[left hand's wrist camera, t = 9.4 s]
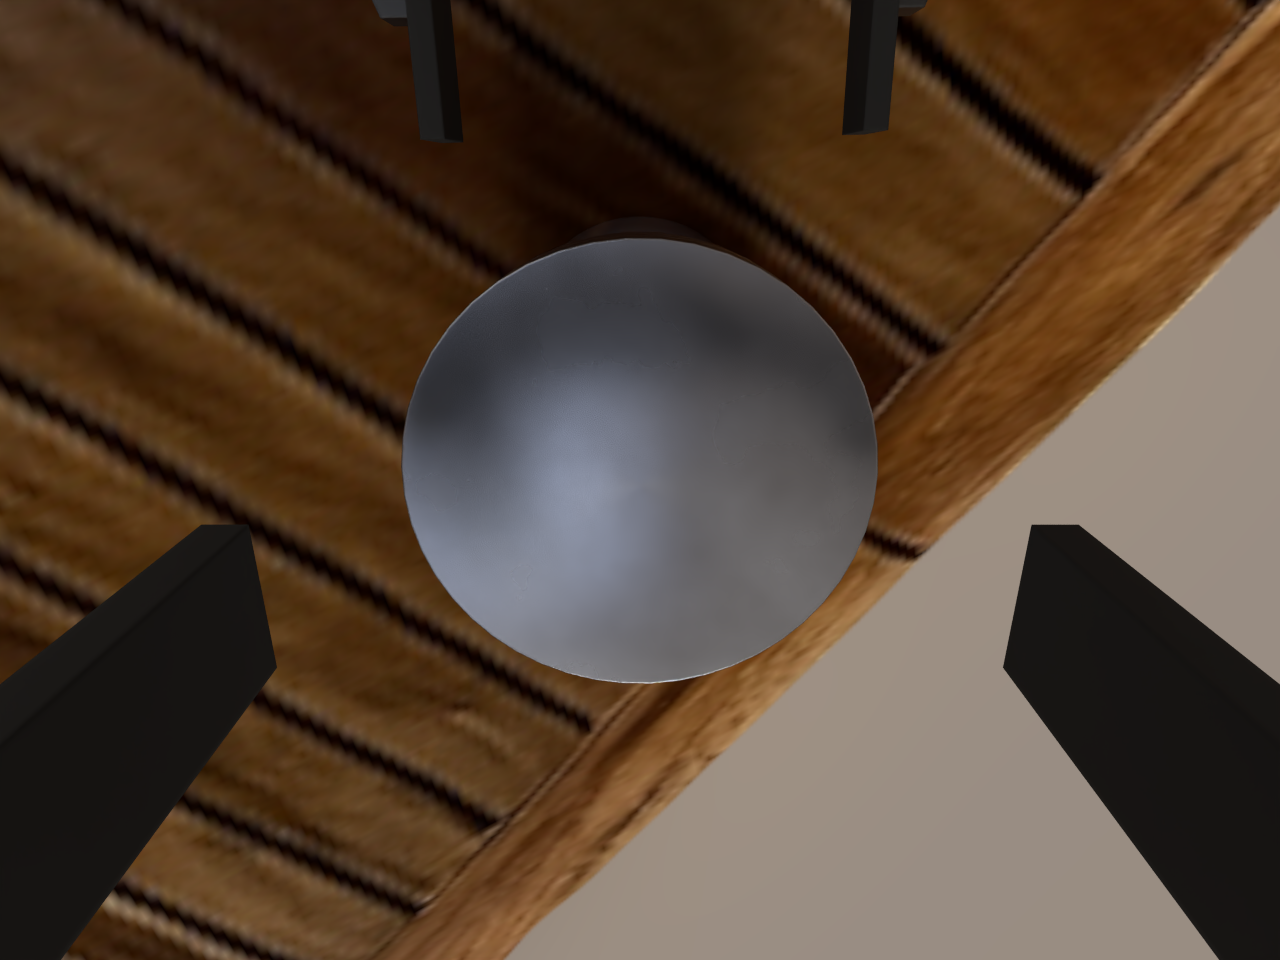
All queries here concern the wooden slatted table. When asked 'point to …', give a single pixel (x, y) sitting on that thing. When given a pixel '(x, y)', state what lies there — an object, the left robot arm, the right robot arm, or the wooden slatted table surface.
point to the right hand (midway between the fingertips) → (653, 138)
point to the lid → (639, 458)
